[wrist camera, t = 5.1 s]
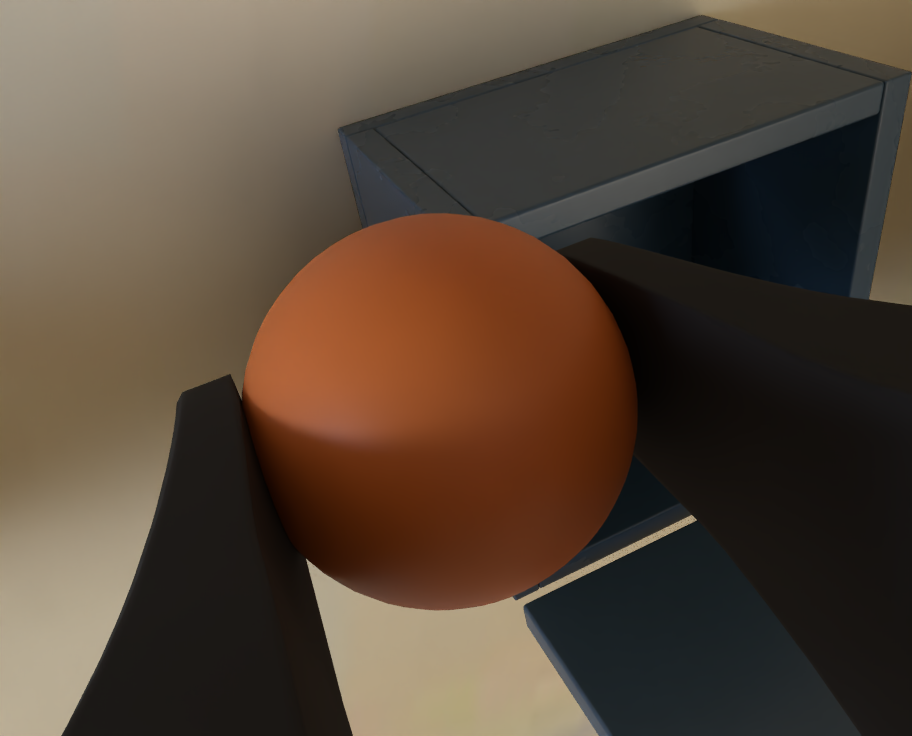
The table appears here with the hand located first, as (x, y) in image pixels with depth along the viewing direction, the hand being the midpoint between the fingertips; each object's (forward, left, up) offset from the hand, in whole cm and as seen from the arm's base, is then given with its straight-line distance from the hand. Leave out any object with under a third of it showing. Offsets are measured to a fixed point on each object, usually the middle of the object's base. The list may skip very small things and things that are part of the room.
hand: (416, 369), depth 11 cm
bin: (+7, -5, -10) cm, 13 cm away
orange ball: (0, 0, +1) cm, 1 cm away
